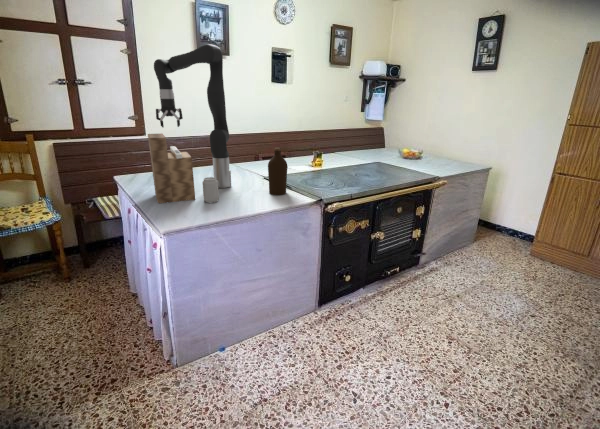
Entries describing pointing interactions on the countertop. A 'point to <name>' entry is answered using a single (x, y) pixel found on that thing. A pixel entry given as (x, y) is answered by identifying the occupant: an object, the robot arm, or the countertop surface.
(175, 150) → the remote
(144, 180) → the countertop surface
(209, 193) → the can
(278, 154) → the olive oil
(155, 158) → the stepped wooden block
